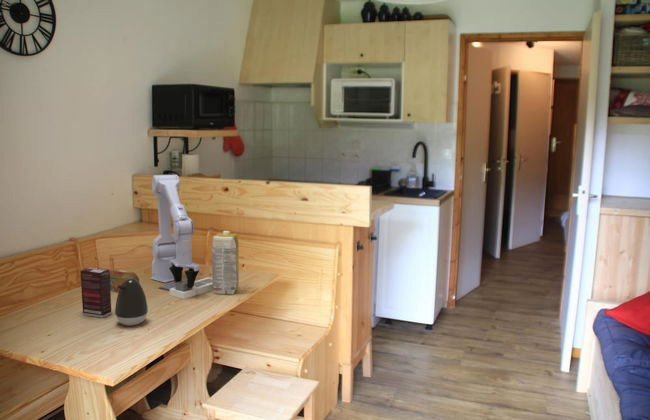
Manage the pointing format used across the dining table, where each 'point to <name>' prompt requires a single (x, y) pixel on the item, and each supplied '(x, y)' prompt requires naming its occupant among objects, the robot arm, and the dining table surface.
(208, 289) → the outlet strip
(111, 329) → the dining table surface
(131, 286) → the black egg-shaped piece
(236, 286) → the juice carton
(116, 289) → the tin
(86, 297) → the supplement box
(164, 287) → the phone
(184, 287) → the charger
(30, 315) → the dining table surface
